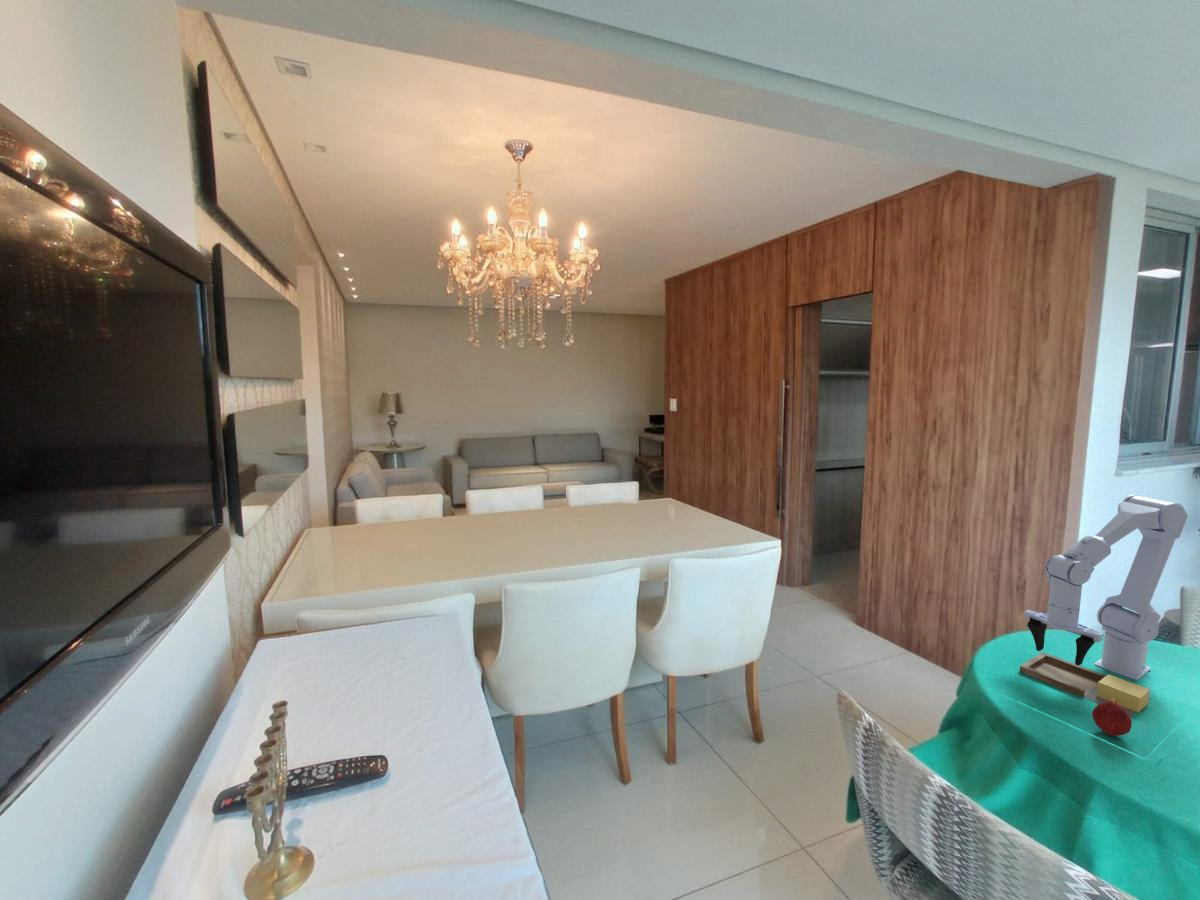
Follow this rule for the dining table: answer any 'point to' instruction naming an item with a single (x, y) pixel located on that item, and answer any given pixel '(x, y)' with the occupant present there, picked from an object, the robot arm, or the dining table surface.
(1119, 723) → the onion
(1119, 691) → the block
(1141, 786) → the dining table surface
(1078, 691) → the brown wooden tray
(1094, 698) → the mat
